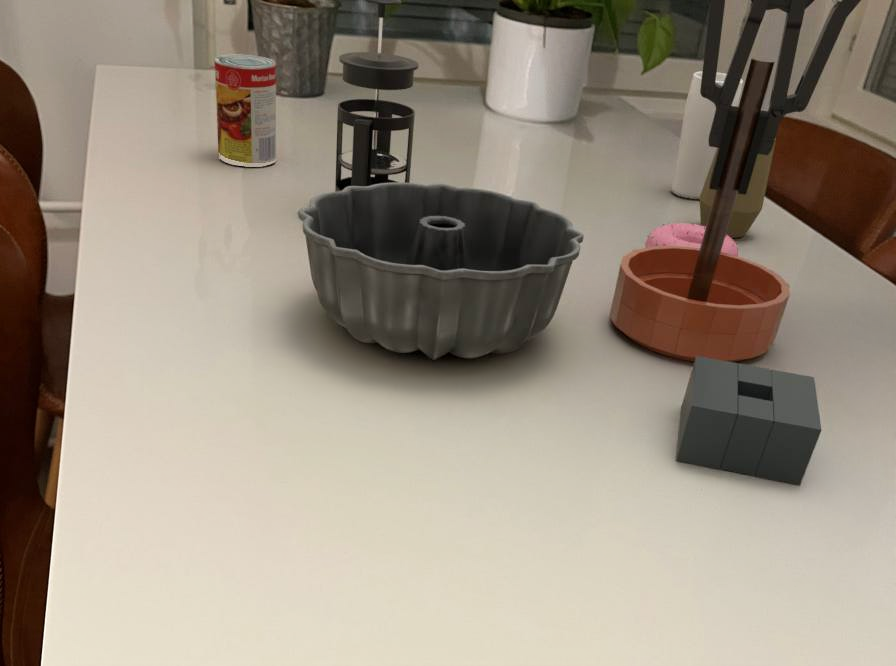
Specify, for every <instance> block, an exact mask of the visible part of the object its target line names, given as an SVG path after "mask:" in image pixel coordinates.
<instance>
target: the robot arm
mask: <svg viewBox="0 0 896 666" xmlns="http://www.w3.org/2000/svg"><path fill="white" fill-rule="evenodd" d="M750 1H751V2H750V5H749V8H748V11H747V14H746V17H745V20H744V23H743V26H742V29H741V32H740V35H739V38H738V41H737V44H736V45H735V49H734V53H733V54H732V57H731V61H730V64H729V66H728V69H727V72H726V74H727V75H726V77H725V80H724V83H723V86H721V85H719V84H717V83H716V82H715V81H716V73H717V72H718V63H719V56H720V55H719V54H720V48H721V39H722V30H723V24H724V15H725V7H726V0H710V2H709V11H708V12H709V13H708V21H707V28H706V38H705V46H704V54H703V62H702V63H703V64H702V70H701V71H702V80H701V89H700V94H701V96H702V97H703V98H707V99H708V100H710V101H712V102H713V103H714V104H715V106H716V111H715V115H714V119H713V122H712V126H711V130H710V134H709V146H710V147H716V148H719V149H718V152H717V156H716V160H715V164H714V168H713V171H712V175H711V179H710V186H709V189H714V190H717V189H718V186H719V182H720V178H721V175H722V171H723V167H724V163H725V160H726V156H727V152H728V149H729V145H730V141H731V137H732V134H733V130H734V126H735V123H736V119H737V115H738V106H737V107H736V106H731V105H732V103H733V100H734V97H735V94H736V91H737V89H738V86H739V83H740V80H741V79H742V77H743V75H744V72H745V69H746V66H747V64H748V61H749V58H750V55H751V52H752V50H753V47H754V44H755V41H756V38H757V35H758V33H759V30H760V27H761V24H762V23H763V20H764V17H765V14H766V11H771V10H779V11H781V12H784V13H786V14H785V20H784V25H783V31H782V37H781V42H780V47H779V51H778V56H777V62H776V67H775V73H774V77H773V82H772V83H773V84H772V88H771V93H770V99H769V102H768V111H762V110H761V112H760V114H759V118H758V121H757V125H756V128H755V132H754V135H753V139H752V142H751V146H750V149H749V153H748V157H747V160H746V164H745V167H744V171H743V174H742V178H741V181H740V185H739V188H738V194H744V195H746V193H747V190H748V186H749V183H750V179H751V176H752V172H753V169H754V165H755V162H756V159H757V155H758V154H762V155H769V153H770V152H771V150H772V148H773V144H774V141H775V138H776V137H777V134H778V131H779V128H780V124H781V120H782V119H783V118H784V117H785V116H786V115H789V114H792V113H801V112H804V111H805V110H806V108H807V107H808V106H809V103H810V100H811V98H812V96H813V94H814V91H815V89H816V87H817V86H818V83H819V80H820V79H821V76H822V74H823V71H824V70H825V67H826V65H827V63H828V61H829V58H830V56H831V54H832V52H833V49H834V47H835V45H836V42H837V40H838V38H839V36H840V34H841V32H842V29H843V27H844V25H845V22H846V20H847V18H848V17H849V16H850V14H851V13H853V11H854V9H855V8H856V7H857V6H858V5H859V4H860V2H861V1H862V0H831V1H832V3H833V6H832V7H831V9H830V11H829V14H828V15H827V18H826V20H825V22H824V24H823V26H822V28H821V31H820V34H819V35H818V38H817V40H816V42H815V44H814V47H813V49H812V51H811V53H810V57H809V58H808V61H807V62H806V65H805V68H804V70H803V72H802V74H801V77H800V79H799V81H798V84H797V86H796V87H795V90H794V93H793V94H788V93H789V88H790V84H791V78H792V72H793V68H794V63H795V59H796V55H797V54H796V53H797V48H798V44H799V39H800V34H801V29H802V25H803V21H804V18H805V17H804V16H805V12H806V10H807V9H808V8H809V7H810V6H811V5H812V4H813V3H814V2H815V1H816V0H750ZM776 139H777V138H776ZM775 142H776V141H775Z"/></svg>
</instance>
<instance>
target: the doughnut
mask: <svg viewBox="0 0 896 666" xmlns="http://www.w3.org/2000/svg"><path fill="white" fill-rule="evenodd" d="M705 229H706V227H705V226H701V223H700V224H697V223H692V222H690V223H685V222H683V223H681V222H676V223H675V222H673V223H670V222H667V224H664V223H663V224H662V225H660V226H658V227H656V228H653V230H652V231H651V232H650V233H649V234H648V235H647V238H646V240H645V242H644V248H646V247H654V246H684V247H694V248H695V247H696V248H700V247H701V244H702V240H703V236H704V232H705ZM739 251H740V248H739V247H738V244H736V242H735V240H734V239H733V238H732V237H729V235H725V239H724V242H723V246H722V249H721V252H723V253H727V254H731V255H735V256H738V257H739V254H740V253H739Z"/></svg>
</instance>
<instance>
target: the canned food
mask: <svg viewBox="0 0 896 666" xmlns="http://www.w3.org/2000/svg"><path fill="white" fill-rule="evenodd" d="M276 68H277V64H276V61H275V60H273V59H271V58H270V57H265V56H260V55H255V54H254V55H253V54H244V53H238V54H237V53H227V54H220V55H217V56H215V57H214V74H215V75H214V78H215V101H216V102H215V104H216V128H217V150H218V151H217V153H218V152H219V153H220V155H222V156H224V157H225V158H228V159H231V160H235V161H239V162H244V163H245V162H246V163H266V162H271V161H274V160H275V159H276V160H277V89H276V88H277V75H276V74H277V69H276Z"/></svg>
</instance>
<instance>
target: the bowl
mask: <svg viewBox="0 0 896 666" xmlns="http://www.w3.org/2000/svg"><path fill="white" fill-rule="evenodd" d="M699 251H700V248H696V247H695V248H694V247H684V246H654V247H642V248H638V249H633V250H631V251H630V252H628V253H627V254H625V255H624V256H622V257H621V261H620V265H619V270H618V274H617V279H616V283H615V288H614V292H613V298H612V302H611V307H610V311H609V318H610V319H611V321H612V323H613V325H614V326H615V327H616V328H617V329H618V330H620V331H621V332H622V333H623V334H625V335H626V336H627V337H628V338H629V337H630V338H631V339H630V338H629V339H630V340H632V341H633V342H635V343H636V344H637V345H640V346H641V345H642V346H641V347H644V348H645V347H646V348H645V349H648V350H650V351H653V352H655V353H658V354H661V355H662V356H663V355H664V356H667V357H670V358H674V359H679V360H684V361H689V362H694V361H695V357H696V356H700V357H706V358H711V359H717V360H722V361H728V362H733V363H737V362H741V361H744V360H749V359H753V358H756V357H758V356H762V355H764V354H766V353H767V352H768V351H769V350H770V349H771V348H772V347H773V346H774V343H775V340H776V338H777V335H778V332H779V328H780V325H781V323H782V320H783V317H784V313H785V312H786V311H785V310H786V307H787V305H788V301H789V298H790V295H791V293H790V292H791V291H790V285H789V283H788V282H786V280H784V278H783V277H782V276H781V275H780V274H778V273H777V272H774V271H773V270H771V269H770V268H768V267H766V266H765V265H762V264H759V263H756V262H754V261H752V260H749V259H747V258H744V257H742V256H739V255H738V256H735V255H731V254H727V253H723V252H721V253H720V256H719V260H718V263H717V267H716V270H715V274H714V277H713V281H712V284H711V288H710V292H709V295H708V299H707V302H702V301H696V300H691V299H687V295H688V292H689V288H690V284H691V281H692V277H693V273H694V269H695V266H696V262H697V258H698V255H699Z"/></svg>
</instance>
